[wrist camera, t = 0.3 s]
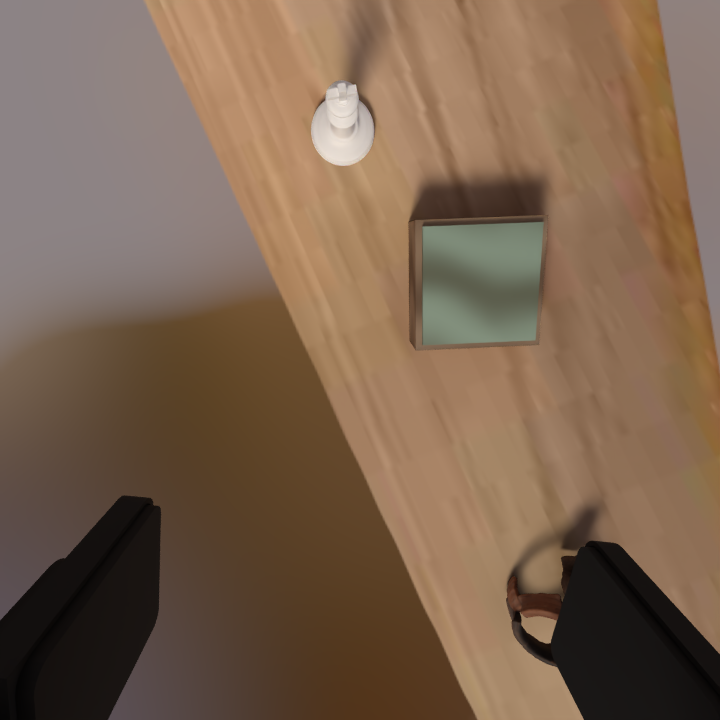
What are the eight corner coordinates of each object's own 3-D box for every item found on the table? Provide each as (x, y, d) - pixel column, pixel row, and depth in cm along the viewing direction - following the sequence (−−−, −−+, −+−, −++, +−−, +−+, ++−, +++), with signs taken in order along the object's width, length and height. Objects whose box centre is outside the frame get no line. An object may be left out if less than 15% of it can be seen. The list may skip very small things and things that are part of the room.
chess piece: (305, 102, 33) (289, 45, 24) (368, 90, 33) (378, 28, 24) (317, 170, 35) (307, 142, 25) (379, 159, 35) (392, 127, 25)
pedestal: (408, 222, 36) (416, 219, 32) (528, 217, 36) (550, 214, 32) (409, 340, 38) (416, 351, 35) (521, 335, 39) (541, 346, 35)
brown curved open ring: (589, 618, 48) (587, 693, 41) (504, 575, 51) (488, 639, 44) (637, 547, 42) (643, 622, 35) (537, 504, 45) (525, 565, 39)
